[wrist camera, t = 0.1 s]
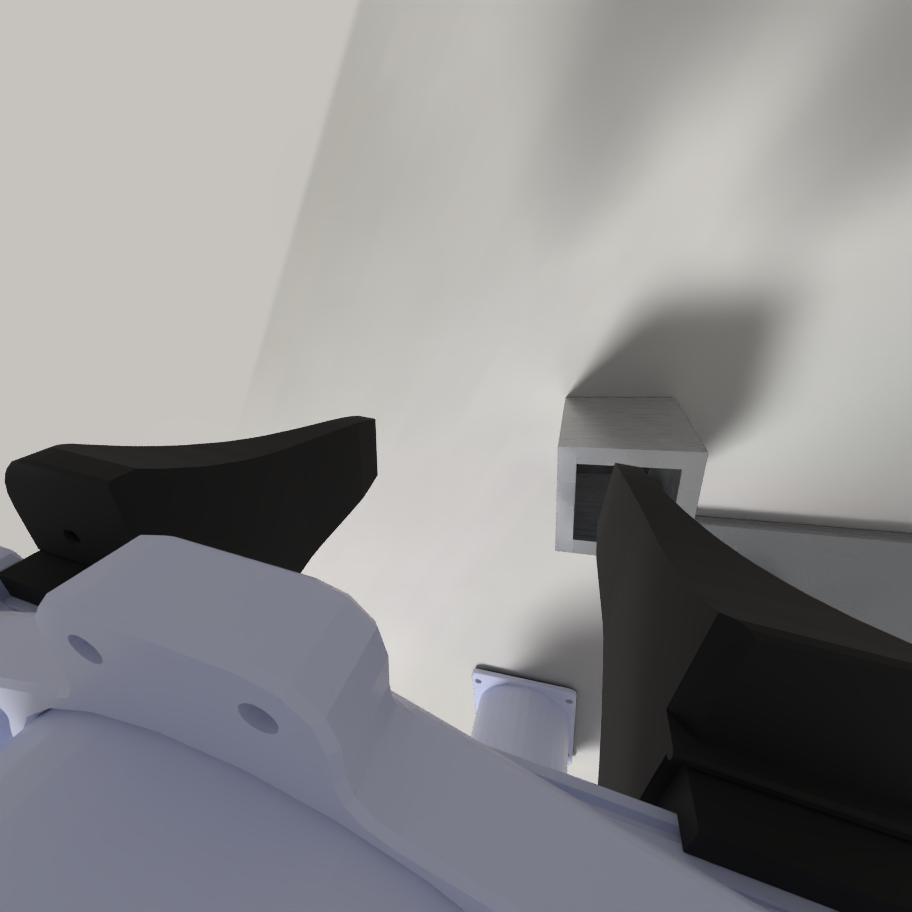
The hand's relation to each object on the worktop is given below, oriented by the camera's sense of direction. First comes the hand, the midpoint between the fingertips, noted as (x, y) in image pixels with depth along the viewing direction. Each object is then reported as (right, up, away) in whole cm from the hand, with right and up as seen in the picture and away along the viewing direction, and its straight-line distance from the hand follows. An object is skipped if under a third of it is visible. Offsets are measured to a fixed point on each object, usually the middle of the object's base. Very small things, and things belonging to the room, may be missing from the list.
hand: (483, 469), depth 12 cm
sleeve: (+7, +1, +9) cm, 11 cm away
